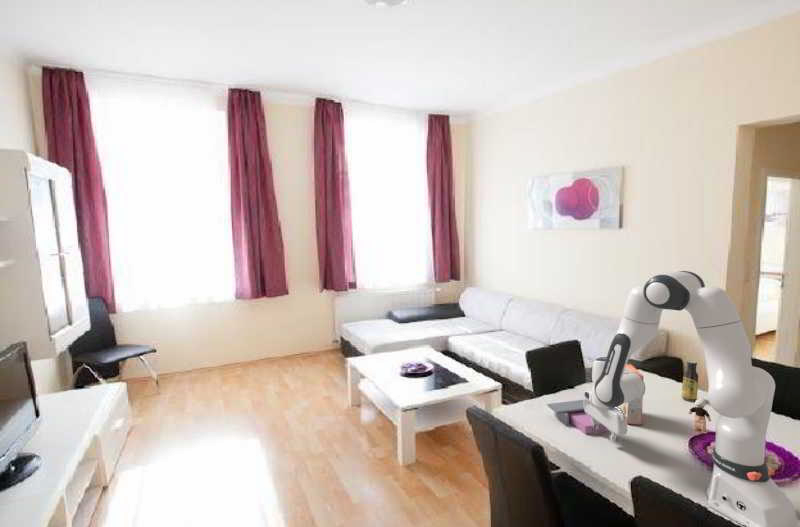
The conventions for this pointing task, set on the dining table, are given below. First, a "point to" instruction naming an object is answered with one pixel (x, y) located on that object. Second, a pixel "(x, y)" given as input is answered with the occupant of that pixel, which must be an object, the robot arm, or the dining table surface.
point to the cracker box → (633, 404)
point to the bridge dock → (566, 409)
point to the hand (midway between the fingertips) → (603, 434)
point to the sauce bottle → (690, 382)
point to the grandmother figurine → (700, 416)
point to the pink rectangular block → (584, 422)
